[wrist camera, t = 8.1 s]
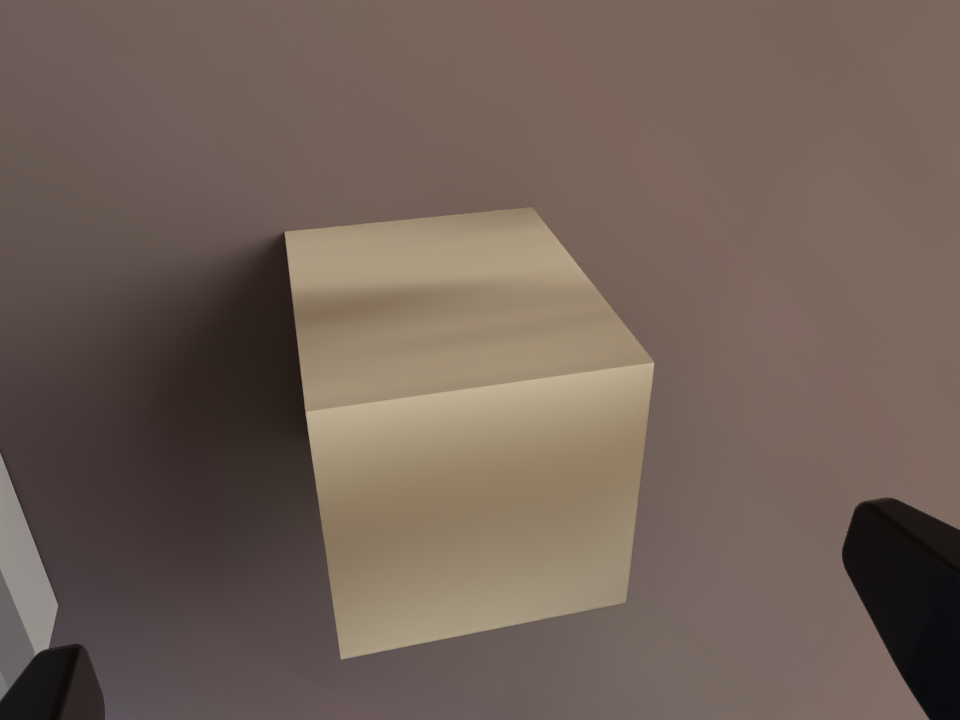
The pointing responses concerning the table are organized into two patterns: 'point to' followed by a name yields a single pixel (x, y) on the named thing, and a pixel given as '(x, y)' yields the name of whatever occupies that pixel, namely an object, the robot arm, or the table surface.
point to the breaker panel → (20, 590)
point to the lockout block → (465, 425)
